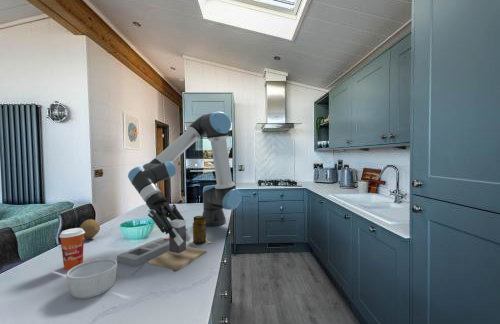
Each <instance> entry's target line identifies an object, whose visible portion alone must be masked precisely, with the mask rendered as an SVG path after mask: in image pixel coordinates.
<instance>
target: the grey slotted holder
mask: <svg viewBox="0 0 500 324" xmlns="http://www.w3.org/2000/svg"><path fill="white" fill-rule="evenodd" d="M168 251H170V245H169V237H167V236H166V237H158V238H156V239H154V240H150V241H149V242H147V243H144V244H142V245H139V246H137V247H134V248H132V249H129V250H127V251H125V252H122V253H120V254H118V255H116V261H117V263H119V264H124V265H128V266H131V267H133V268H134V267H137V266H139V265H142V264H143V263H146V262H148V261H150V260H152V259H154V258H156V257H158V256H160V255H162V254H164V253H166V252H168Z"/></svg>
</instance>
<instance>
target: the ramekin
mask: <svg viewBox="0 0 500 324" xmlns="http://www.w3.org/2000/svg"><path fill="white" fill-rule="evenodd" d="M117 268H118V262H117V259H114V258H108V257H107V258H105V257H104V258H97V259H92V260H88V261H85V262H84V261H83V263H82V264H79V265H77V266H75V267H73V268H72V269H70V270H67V272H66V280H67V282H68V287H69V291H70V294H71V295H72V296H73V297H74V298H76V299H90V298H93V297H98V296H99V295H102V294H104V293H106V292H108V291H109V289H111V288H112V287H113V286H114V285H115V283H116V279H117V278H116V277H117Z"/></svg>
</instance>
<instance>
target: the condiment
mask: <svg viewBox="0 0 500 324" xmlns="http://www.w3.org/2000/svg"><path fill="white" fill-rule="evenodd" d="M192 234H193V235H192V240H189V242H190V243H191V244H194V245H195V246H199V247H200V246H203V245H207V244H211V243H212V241H210V240H208V239H207V226H206V222H205V217H204V216H202V215H196V216H193V222H192Z"/></svg>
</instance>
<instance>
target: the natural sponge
mask: <svg viewBox="0 0 500 324" xmlns="http://www.w3.org/2000/svg"><path fill="white" fill-rule="evenodd" d="M79 228H82V229H83V230H84V231H85V233H84V239H86V240H91V239H93V238H94V237H95V236H97V234H98V233H99V232H100V230H101V226H100V223H99V222H98V221H97V220H95V219H92V218H90V219H86V220H84V221H83V222H82V223H80V225H79Z"/></svg>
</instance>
